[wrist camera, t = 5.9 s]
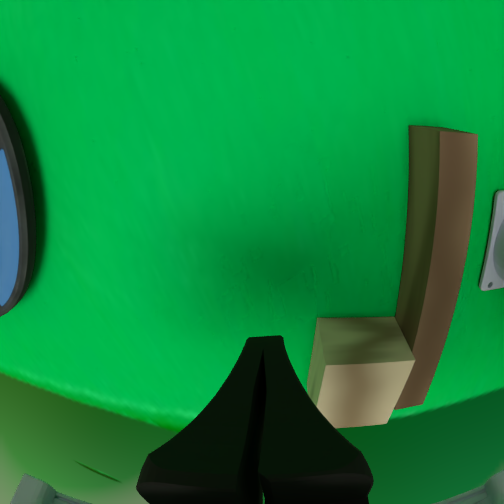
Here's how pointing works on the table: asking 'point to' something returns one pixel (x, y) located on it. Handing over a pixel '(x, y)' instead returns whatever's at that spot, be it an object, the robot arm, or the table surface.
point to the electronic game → (14, 215)
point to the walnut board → (434, 246)
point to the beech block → (358, 369)
